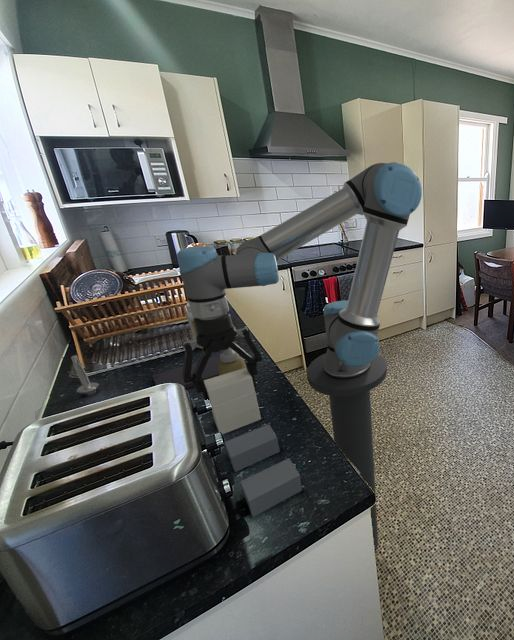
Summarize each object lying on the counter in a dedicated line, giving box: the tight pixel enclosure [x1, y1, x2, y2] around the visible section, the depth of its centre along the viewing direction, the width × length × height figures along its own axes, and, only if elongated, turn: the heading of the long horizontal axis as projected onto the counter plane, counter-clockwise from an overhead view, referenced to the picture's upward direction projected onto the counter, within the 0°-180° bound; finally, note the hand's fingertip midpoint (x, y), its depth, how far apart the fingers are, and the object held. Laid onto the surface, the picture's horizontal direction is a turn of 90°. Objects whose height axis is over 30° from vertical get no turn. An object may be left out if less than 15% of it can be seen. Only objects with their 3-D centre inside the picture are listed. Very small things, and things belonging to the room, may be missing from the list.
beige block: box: [211, 391, 259, 421], centre depth 91 cm, size 10×6×4 cm, turn 130°
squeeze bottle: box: [218, 347, 247, 376], centre depth 100 cm, size 8×8×18 cm
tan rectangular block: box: [204, 367, 256, 407], centre depth 89 cm, size 10×6×4 cm, turn 130°
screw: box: [70, 355, 100, 397], centre depth 100 cm, size 13×5×5 cm
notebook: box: [152, 354, 221, 390], centre depth 112 cm, size 13×2×21 cm
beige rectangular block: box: [211, 405, 262, 435], centre depth 92 cm, size 10×6×4 cm, turn 130°
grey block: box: [224, 423, 281, 473], centre depth 82 cm, size 10×6×4 cm, turn 130°
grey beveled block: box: [240, 457, 303, 518], centre depth 72 cm, size 10×6×4 cm, turn 130°
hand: (231, 393), depth 90 cm, fingers closed on tan rectangular block, 10 cm apart
